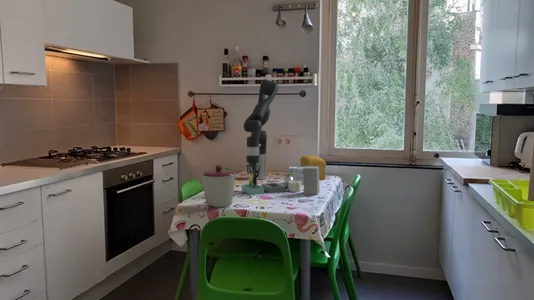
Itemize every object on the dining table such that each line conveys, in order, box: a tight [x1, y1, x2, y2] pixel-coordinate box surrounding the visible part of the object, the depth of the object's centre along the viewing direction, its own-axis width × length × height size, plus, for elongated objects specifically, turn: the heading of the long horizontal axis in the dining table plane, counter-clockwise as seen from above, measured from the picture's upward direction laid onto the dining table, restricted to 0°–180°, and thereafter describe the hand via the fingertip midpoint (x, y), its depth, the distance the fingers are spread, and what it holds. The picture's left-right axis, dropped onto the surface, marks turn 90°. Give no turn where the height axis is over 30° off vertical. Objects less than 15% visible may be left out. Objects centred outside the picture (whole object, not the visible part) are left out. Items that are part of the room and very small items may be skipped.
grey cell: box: [284, 175, 293, 190], centre depth 263 cm, size 5×5×8 cm
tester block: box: [261, 182, 286, 194], centre depth 256 cm, size 12×10×4 cm
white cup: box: [287, 181, 302, 193], centre depth 256 cm, size 7×8×5 cm
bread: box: [299, 154, 327, 181], centre depth 302 cm, size 24×13×15 cm, turn 9°
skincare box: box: [303, 166, 320, 195], centre depth 248 cm, size 8×7×16 cm
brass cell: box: [248, 173, 258, 186], centre depth 250 cm, size 5×5×8 cm
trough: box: [241, 183, 265, 196], centre depth 251 cm, size 13×9×4 cm, turn 25°
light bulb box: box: [288, 166, 304, 185], centre depth 278 cm, size 11×7×11 cm, turn 84°
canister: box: [200, 164, 237, 208], centre depth 219 cm, size 18×18×21 cm
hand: (252, 182), depth 251 cm, fingers closed on brass cell, 4 cm apart
